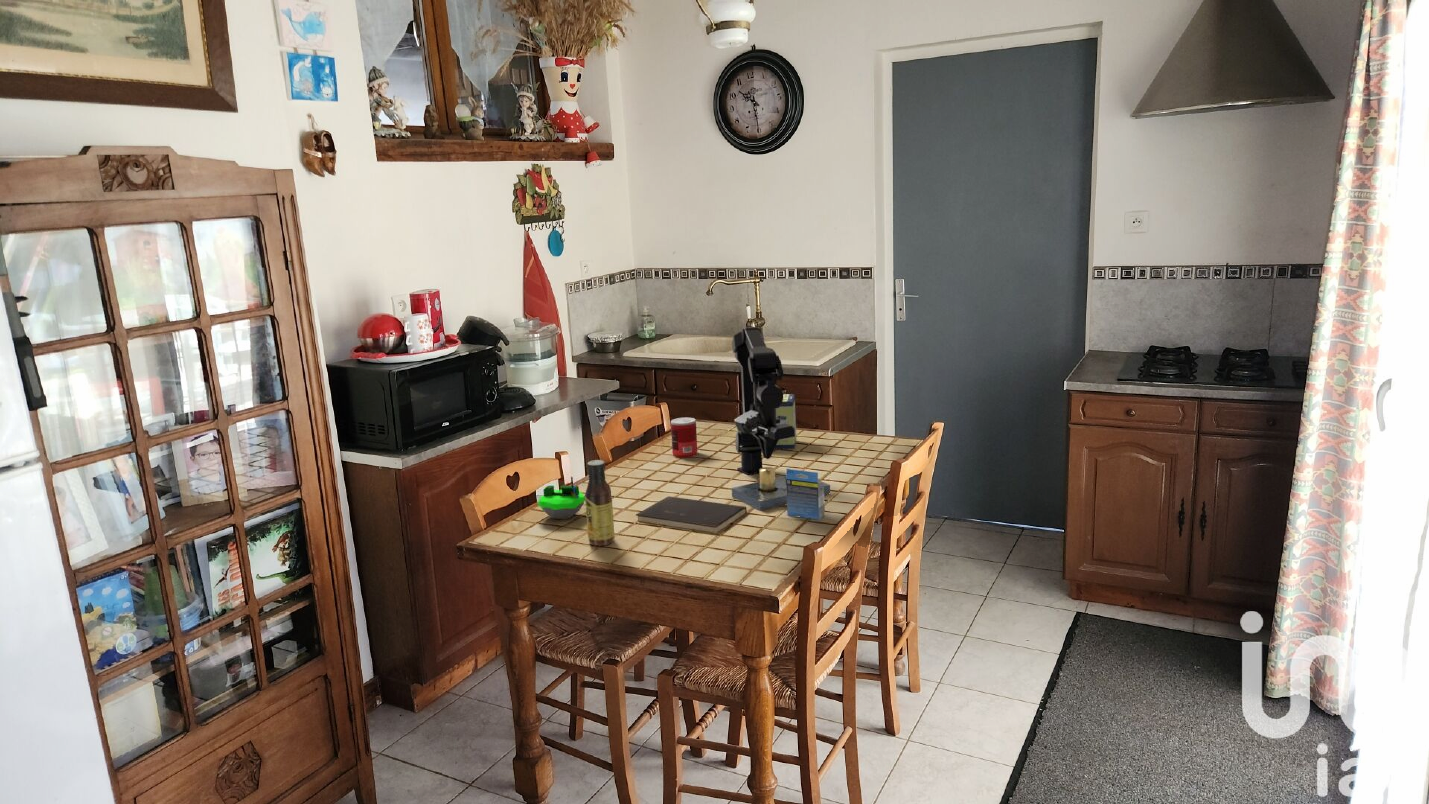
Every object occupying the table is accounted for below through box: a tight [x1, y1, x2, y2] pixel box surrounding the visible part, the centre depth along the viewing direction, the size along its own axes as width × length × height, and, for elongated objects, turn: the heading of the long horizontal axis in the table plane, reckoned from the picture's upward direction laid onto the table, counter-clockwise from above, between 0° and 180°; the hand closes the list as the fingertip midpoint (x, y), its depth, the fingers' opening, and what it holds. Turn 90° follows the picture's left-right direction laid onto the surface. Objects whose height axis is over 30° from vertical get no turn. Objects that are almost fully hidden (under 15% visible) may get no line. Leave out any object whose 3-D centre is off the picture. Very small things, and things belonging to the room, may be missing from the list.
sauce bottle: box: [584, 459, 615, 547], centre depth 221 cm, size 7×6×20 cm
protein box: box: [774, 393, 797, 450], centre depth 299 cm, size 10×16×16 cm
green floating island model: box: [537, 476, 585, 520], centre depth 241 cm, size 12×12×11 cm
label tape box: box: [785, 468, 826, 521], centre depth 233 cm, size 9×4×12 cm, turn 60°
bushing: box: [759, 466, 776, 493], centre depth 248 cm, size 4×4×8 cm
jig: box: [731, 474, 831, 511], centre depth 251 cm, size 14×22×3 cm, turn 120°
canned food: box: [670, 416, 698, 459], centre depth 293 cm, size 8×8×11 cm
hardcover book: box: [635, 495, 747, 534], centre depth 238 cm, size 16×23×2 cm
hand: (767, 458), depth 247 cm, fingers closed
